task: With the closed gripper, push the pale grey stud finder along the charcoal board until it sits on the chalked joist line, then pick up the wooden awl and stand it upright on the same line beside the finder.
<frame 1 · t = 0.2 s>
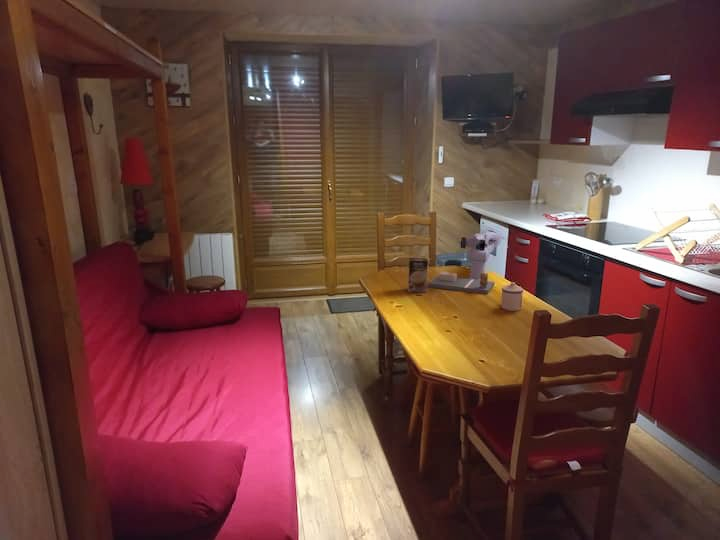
hand: (469, 246, 243), 21 cm above the table, tool horizontal, fingers open, 7 cm apart
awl: (483, 287, 242), point 2 cm above the table, touching subfloor board
subfloor board: (461, 286, 251), on the table
stud finder: (447, 279, 256), point 2 cm above the table, touching subfloor board
teacup with lid: (510, 307, 220), on the table
coffee box: (417, 290, 245), on the table
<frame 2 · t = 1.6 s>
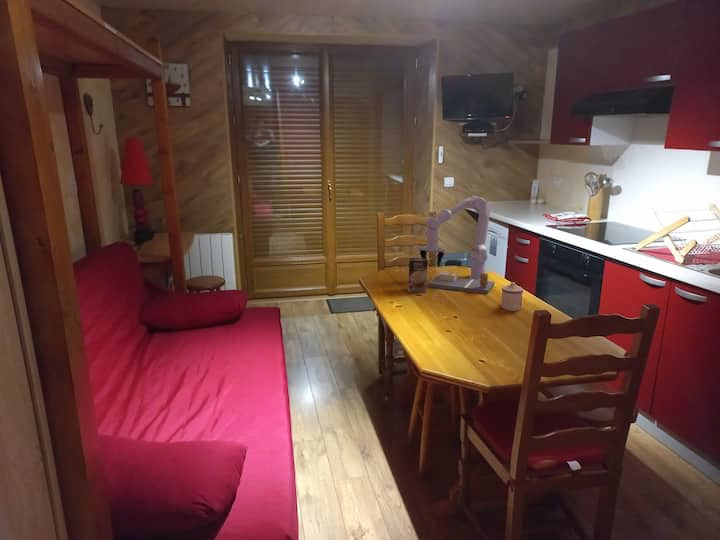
hand: (431, 265, 258), 8 cm above the table, tool pointing down, fingers open, 7 cm apart
nothing on the table moved.
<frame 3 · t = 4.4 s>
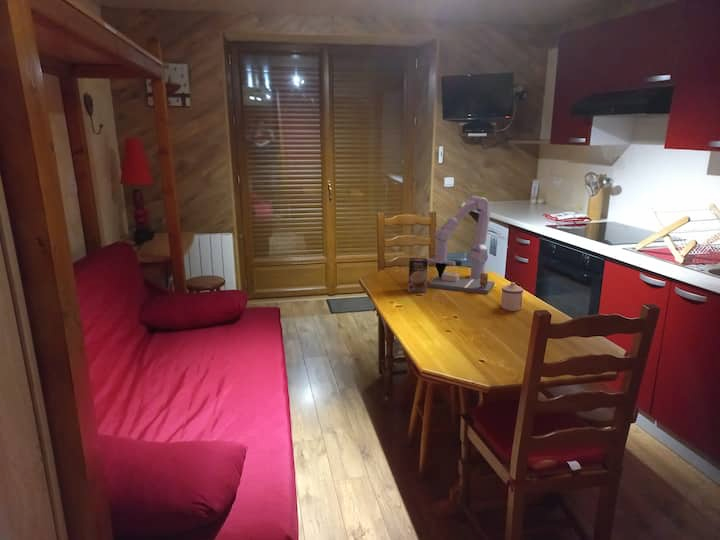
hand: (440, 277, 258), 3 cm above the table, tool pointing down, fingers closed
stud finder: (450, 279, 256), point 2 cm above the table, touching gripper, subfloor board
everything else where it was.
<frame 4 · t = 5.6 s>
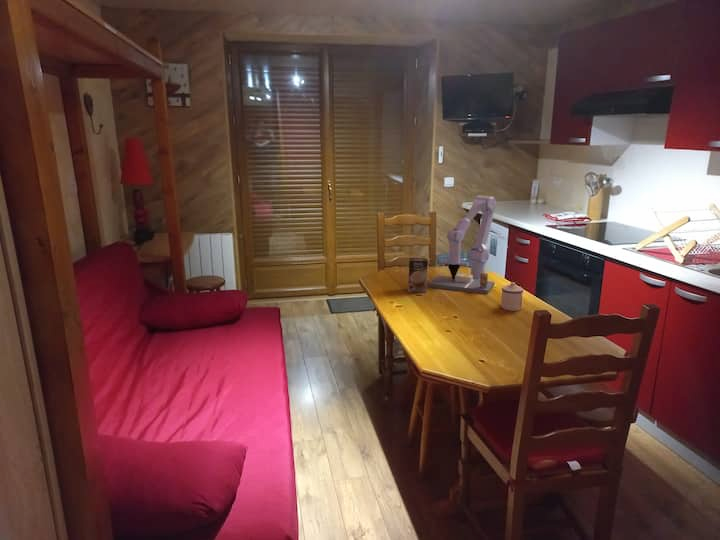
hand: (453, 278, 255), 3 cm above the table, tool pointing down, fingers closed
stud finder: (463, 281, 253), point 2 cm above the table, touching gripper
everything else where it was.
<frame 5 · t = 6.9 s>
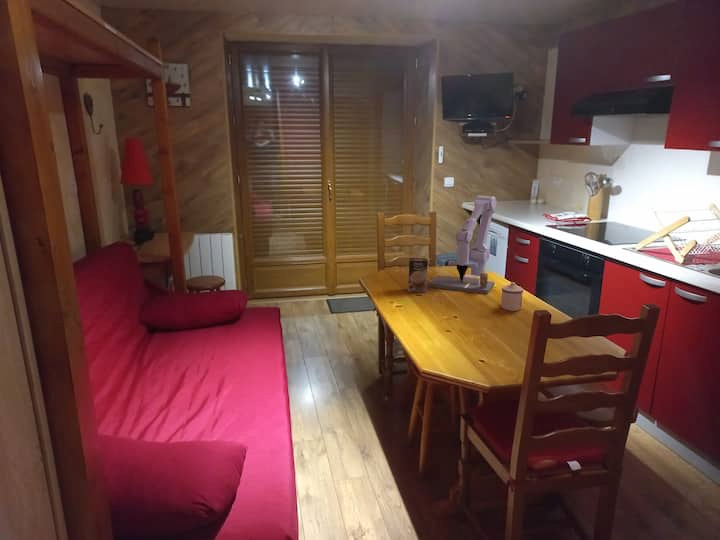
hand: (462, 279, 253), 3 cm above the table, tool pointing down, fingers closed
stud finder: (472, 282, 251), point 2 cm above the table, touching gripper, subfloor board
everything else where it was.
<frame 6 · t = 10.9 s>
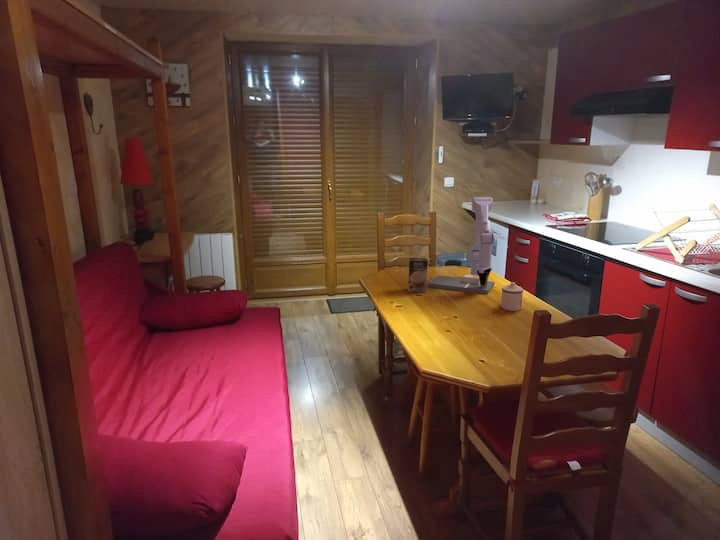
hand: (483, 283, 241), 4 cm above the table, tool pointing down, fingers closed on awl, 4 cm apart
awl: (483, 287, 242), point 2 cm above the table, touching gripper, subfloor board
stud finder: (472, 282, 251), point 2 cm above the table, touching subfloor board
everything else where it was.
when the fingers open (5 cm above the table, at t = 14.4 s): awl stays where it is, resting on subfloor board.
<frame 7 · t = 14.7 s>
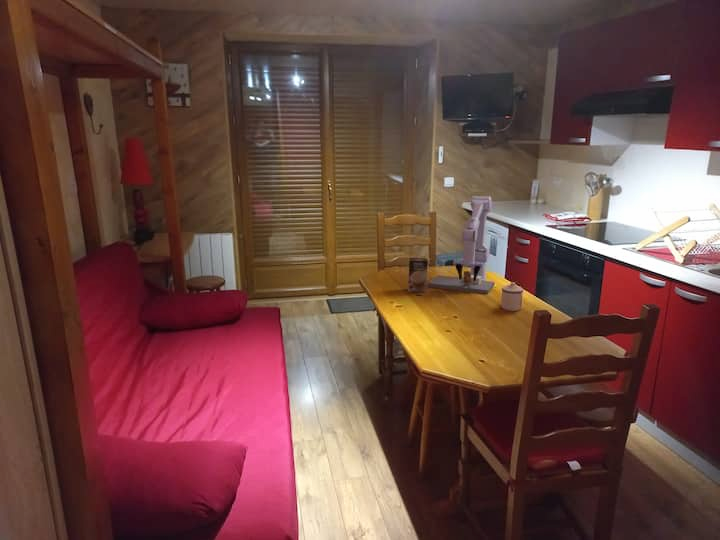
hand: (467, 279, 244), 5 cm above the table, tool pointing down, fingers open, 6 cm apart
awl: (467, 285, 245), point 2 cm above the table, touching subfloor board
everything else where it was.
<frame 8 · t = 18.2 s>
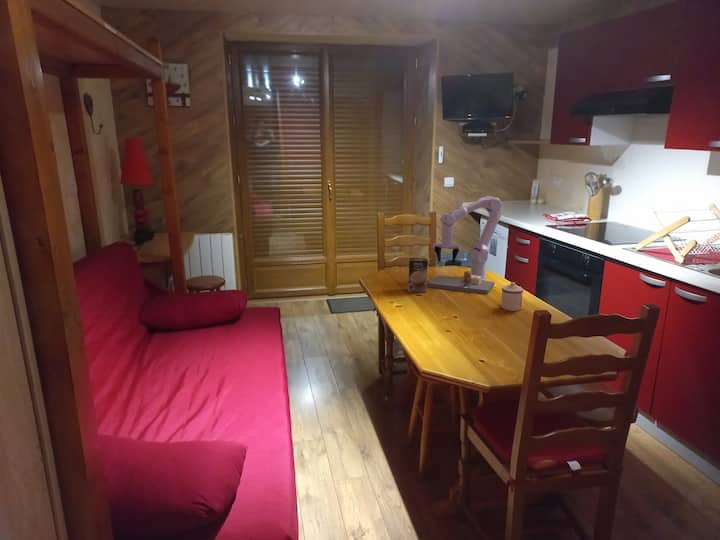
hand: (446, 262, 258), 10 cm above the table, tool pointing down, fingers open, 7 cm apart
nothing on the table moved.
at the end: stud finder 0.3 cm from the target spot, point 2.0 cm above the table; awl 0.0 cm from the target spot, point 2.0 cm above the table; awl tilted 0° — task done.
